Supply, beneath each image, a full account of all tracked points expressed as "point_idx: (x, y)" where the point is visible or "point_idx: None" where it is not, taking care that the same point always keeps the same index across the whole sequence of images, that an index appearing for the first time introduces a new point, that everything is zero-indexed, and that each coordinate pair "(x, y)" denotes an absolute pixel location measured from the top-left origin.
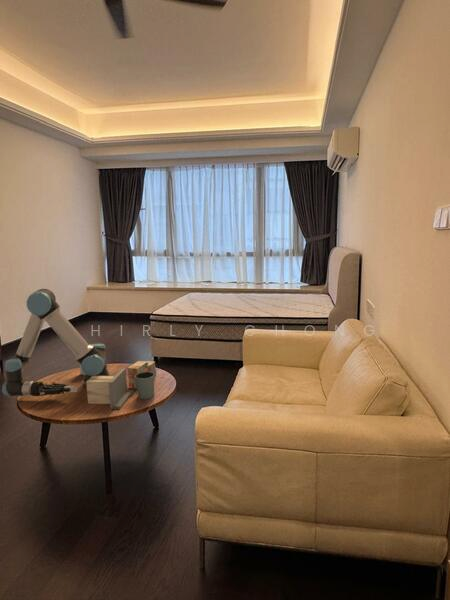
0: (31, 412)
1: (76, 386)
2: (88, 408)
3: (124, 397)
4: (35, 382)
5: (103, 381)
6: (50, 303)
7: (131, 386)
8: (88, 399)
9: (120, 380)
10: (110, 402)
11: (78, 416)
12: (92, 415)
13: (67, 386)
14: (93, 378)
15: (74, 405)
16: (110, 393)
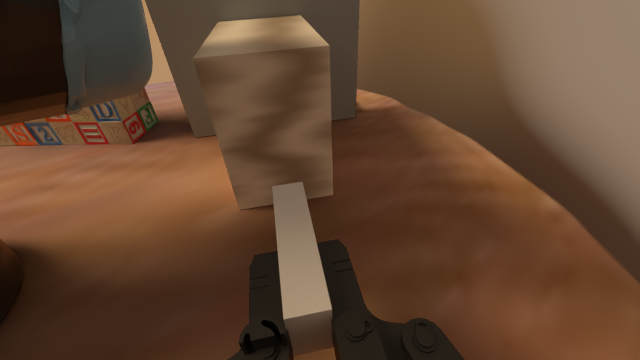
0: None
1: (280, 188)
2: (385, 167)
3: None
4: None
5: (306, 22)
6: None
7: (137, 130)
8: (331, 172)
9: None
10: (355, 90)
11: (475, 161)
12: (431, 132)
13: (295, 275)
14: (260, 44)
15: (387, 243)
16: (356, 48)
